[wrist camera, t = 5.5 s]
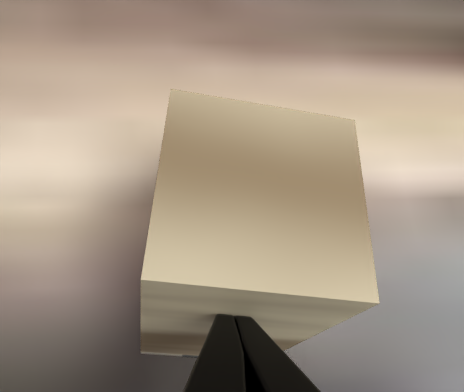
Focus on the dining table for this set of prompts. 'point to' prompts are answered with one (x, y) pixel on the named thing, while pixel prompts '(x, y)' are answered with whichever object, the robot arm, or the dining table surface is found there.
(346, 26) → the dining table surface
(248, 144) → the maple block
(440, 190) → the dining table surface
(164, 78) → the dining table surface
